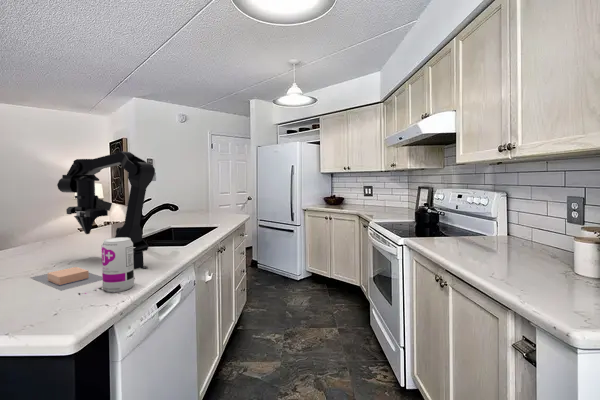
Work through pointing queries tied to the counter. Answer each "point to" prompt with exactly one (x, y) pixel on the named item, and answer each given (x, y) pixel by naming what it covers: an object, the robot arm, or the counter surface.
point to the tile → (68, 276)
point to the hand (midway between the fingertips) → (87, 233)
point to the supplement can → (117, 264)
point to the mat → (91, 279)
